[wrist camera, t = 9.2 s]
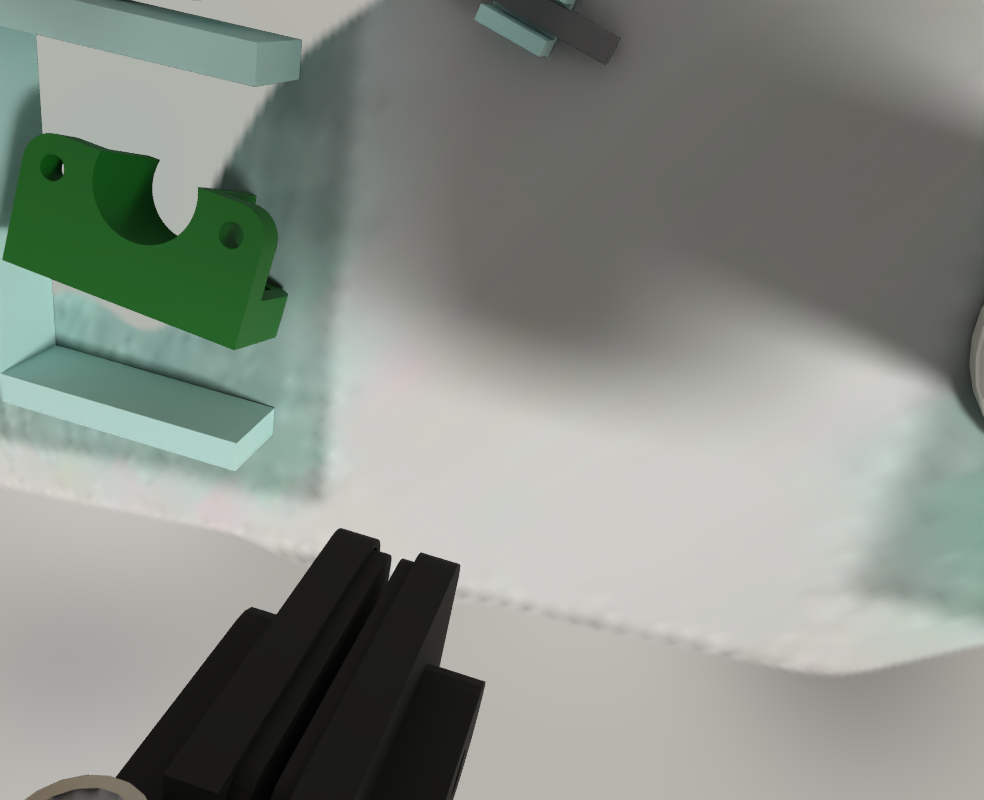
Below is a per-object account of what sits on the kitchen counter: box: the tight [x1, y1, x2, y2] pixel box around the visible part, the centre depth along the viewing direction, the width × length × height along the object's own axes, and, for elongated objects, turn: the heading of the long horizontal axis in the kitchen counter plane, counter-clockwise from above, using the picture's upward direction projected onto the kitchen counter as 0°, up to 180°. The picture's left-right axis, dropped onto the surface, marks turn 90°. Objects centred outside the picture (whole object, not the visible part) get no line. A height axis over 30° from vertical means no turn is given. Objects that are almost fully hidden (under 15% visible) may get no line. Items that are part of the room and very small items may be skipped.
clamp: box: [2, 133, 288, 350], centre depth 37 cm, size 12×6×9 cm, turn 67°
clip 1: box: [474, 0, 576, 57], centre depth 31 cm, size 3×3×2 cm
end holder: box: [0, 0, 302, 471], centre depth 38 cm, size 14×20×4 cm
